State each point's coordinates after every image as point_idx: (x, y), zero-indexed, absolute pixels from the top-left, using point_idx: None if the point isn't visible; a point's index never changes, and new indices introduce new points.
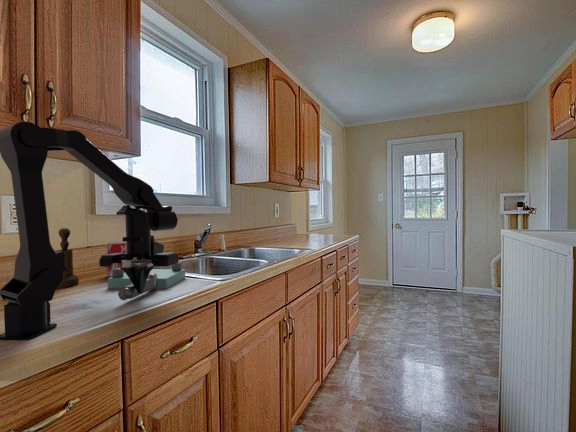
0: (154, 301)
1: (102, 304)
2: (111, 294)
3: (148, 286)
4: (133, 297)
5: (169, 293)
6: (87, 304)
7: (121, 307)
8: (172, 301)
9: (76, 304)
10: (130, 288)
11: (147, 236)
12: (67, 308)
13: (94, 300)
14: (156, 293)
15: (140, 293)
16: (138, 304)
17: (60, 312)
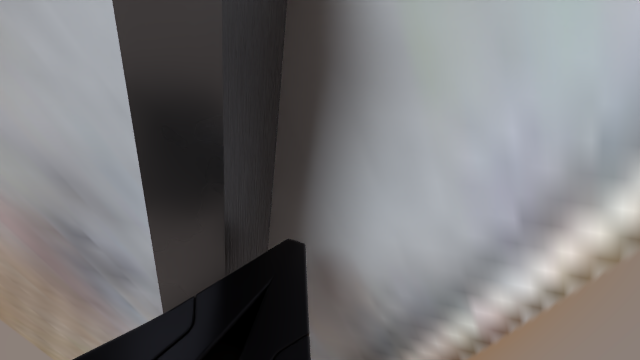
0: (416, 250)
1: (142, 241)
2: (7, 22)
3: (264, 50)
4: (266, 249)
5: (509, 15)
6: (76, 226)
7: None
8: (561, 277)
9: (30, 216)
10: None
11: None
12: (53, 262)
13: (42, 163)
14: (357, 7)
15: (270, 181)
16: (332, 282)
17: (77, 300)
